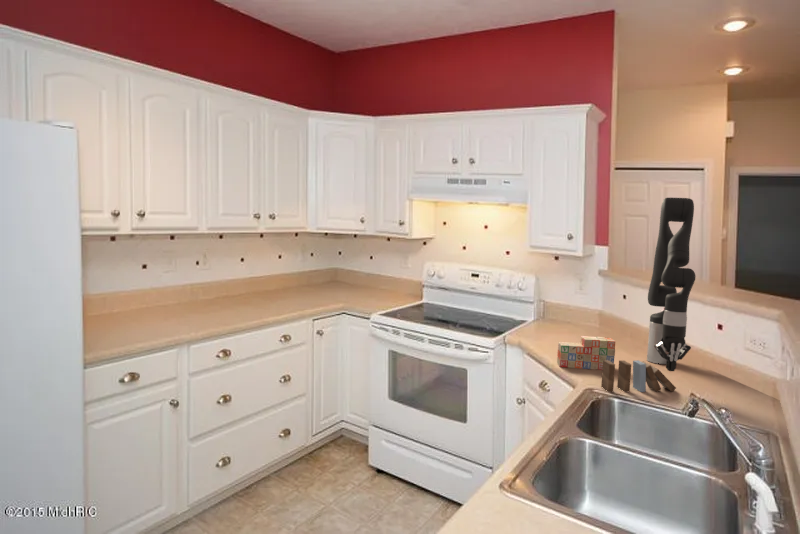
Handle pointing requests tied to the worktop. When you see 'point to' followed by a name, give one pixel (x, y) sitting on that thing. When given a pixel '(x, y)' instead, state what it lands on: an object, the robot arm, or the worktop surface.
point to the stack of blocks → (586, 353)
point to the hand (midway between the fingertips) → (670, 370)
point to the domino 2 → (639, 376)
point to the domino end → (608, 375)
